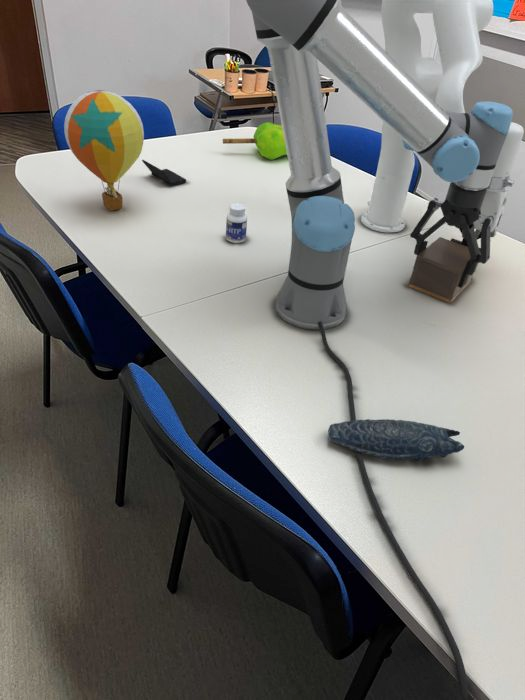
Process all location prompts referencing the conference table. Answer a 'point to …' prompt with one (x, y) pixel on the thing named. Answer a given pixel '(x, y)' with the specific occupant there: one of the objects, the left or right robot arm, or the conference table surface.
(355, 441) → the fish model
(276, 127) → the decorative tree
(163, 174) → the black angular piece
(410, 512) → the conference table surface
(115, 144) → the toy
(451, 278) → the cabinet
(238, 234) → the pill bottle
